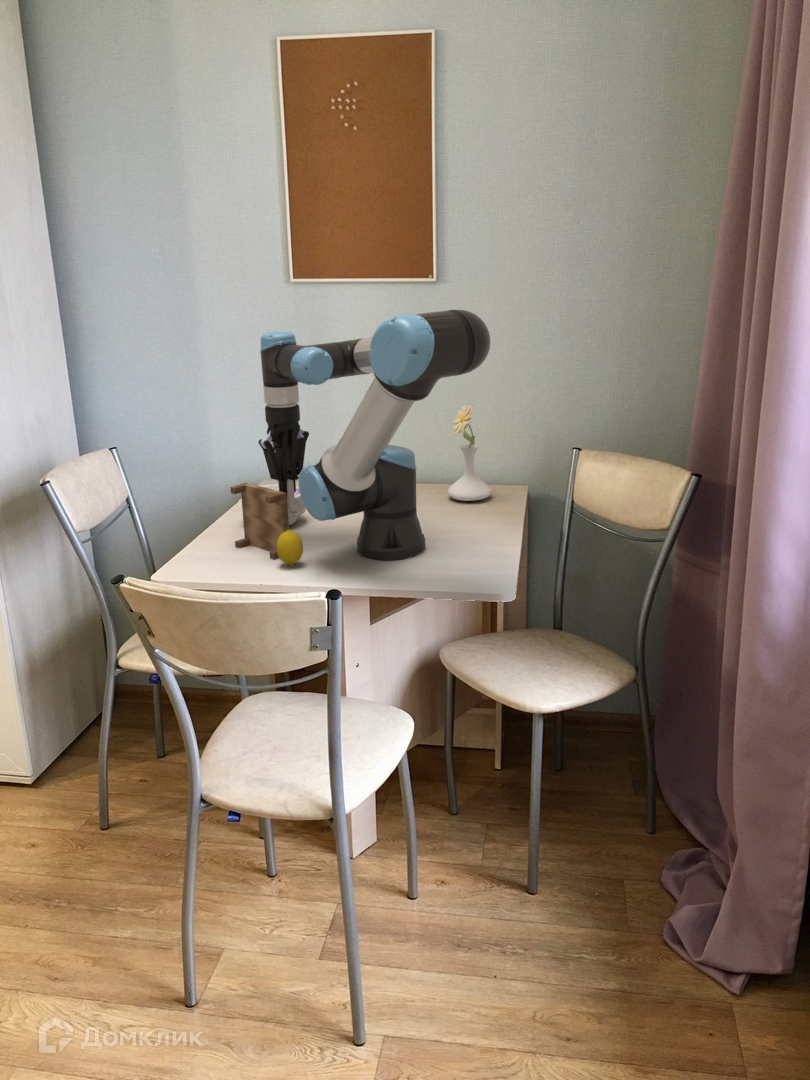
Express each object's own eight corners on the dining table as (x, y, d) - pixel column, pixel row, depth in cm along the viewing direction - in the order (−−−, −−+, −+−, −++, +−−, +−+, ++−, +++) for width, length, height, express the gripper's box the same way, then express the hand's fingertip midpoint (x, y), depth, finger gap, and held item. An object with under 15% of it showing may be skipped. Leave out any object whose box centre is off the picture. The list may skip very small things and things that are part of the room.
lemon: (309, 564, 209) (307, 529, 206) (290, 572, 205) (287, 535, 202) (292, 559, 212) (289, 524, 210) (272, 566, 208) (269, 530, 206)
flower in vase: (447, 492, 259) (446, 398, 251) (490, 491, 258) (490, 397, 250) (447, 506, 246) (446, 408, 238) (492, 506, 246) (493, 407, 238)
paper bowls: (318, 517, 241) (316, 486, 239) (286, 535, 228) (283, 502, 226) (265, 511, 247) (263, 480, 245) (231, 528, 234) (228, 496, 232)
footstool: (290, 554, 215) (286, 493, 211) (275, 559, 212) (270, 497, 208) (250, 541, 224) (245, 482, 220) (234, 546, 221) (229, 486, 217)
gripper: (293, 397, 221) (299, 498, 229) (247, 407, 212) (255, 511, 220) (315, 401, 216) (321, 504, 224) (270, 411, 207) (277, 517, 215)
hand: (288, 507), depth 222 cm, fingers closed
